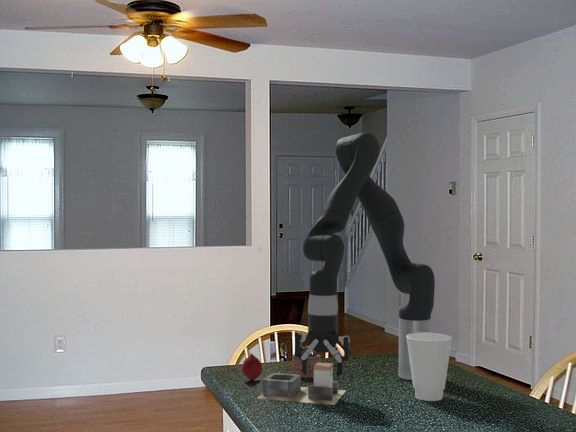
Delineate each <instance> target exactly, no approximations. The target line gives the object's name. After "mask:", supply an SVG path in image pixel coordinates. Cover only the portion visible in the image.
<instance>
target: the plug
mask: <svg viewBox="0 0 576 432" xmlns="http://www.w3.org/2000/svg"><path fill="white" fill-rule="evenodd" d="M333 366H334V364H333V363H332V362H331V363H329V362H320V363H317V364H315V365H314V378H313V386H315V387H328V388H332V395H333V381H334V380H333V379H334V378H333V377H334V372H333V370H334V367H333Z"/></svg>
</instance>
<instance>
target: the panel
mask: <svg viewBox="0 0 576 432" xmlns="http://www.w3.org/2000/svg"><path fill="white" fill-rule="evenodd" d="M301 378H302V377H301V375H295V374H293V373H282V372H281V373H279V372H271V373H270V374H269V375H267V376H265V378H263V379H262V394H261V395H259V396H258V397H256V400H257V399H259V400H269V401H270V400H271V401H279V402H280V401H282V402H293V403H304V404H305V403H307V404H308V403H309V404H319V405H330V406H335V405H336V404H337V403H338V402H339V400H340V398H342V396H343V395H344V394H345V393H346V391H347V389H346V390H344V389H339V381H334V380H333V395H332V388H328V387H315V386H314V385H308V386H307V387H305V386H302V383H301V382H302V381H301V380H302V379H301Z"/></svg>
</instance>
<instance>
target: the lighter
mask: <svg viewBox="0 0 576 432" xmlns="http://www.w3.org/2000/svg"><path fill="white" fill-rule="evenodd" d="M309 346H310V345H306V346H305V347H304V346H302V353H305V351H306V350H307V349H308V347H309ZM321 357H322V356H321V354H317V352H316V351H314V350H313V352H312V353H311V354H310V355H309V356H308V359H309V373H308V374H307V375H304V372H302V360H301V359H300V358H298V357H295V355H294V354H292V357H291V358H292V374H295V375H301V378H306V379H307V378H310V379H311V378H313V379H314V365H315V364H317V363H321Z"/></svg>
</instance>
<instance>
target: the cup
mask: <svg viewBox="0 0 576 432" xmlns="http://www.w3.org/2000/svg"><path fill="white" fill-rule="evenodd" d="M406 338H407V344H408V352H409V359H410V367H411V374H412V380H411V381H412V386H413V389H414V394H415V395H414V396H415V399H417V400H420V401H425V402H436V401H441V400H442V399H443V393H444V390H446V382H447V375H448V368H449V361H450V354H451V347H452V341H453V337H452V336H451V335H449V334H444V333H438V332H431V333H412V334H408V335H407V336H406Z"/></svg>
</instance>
